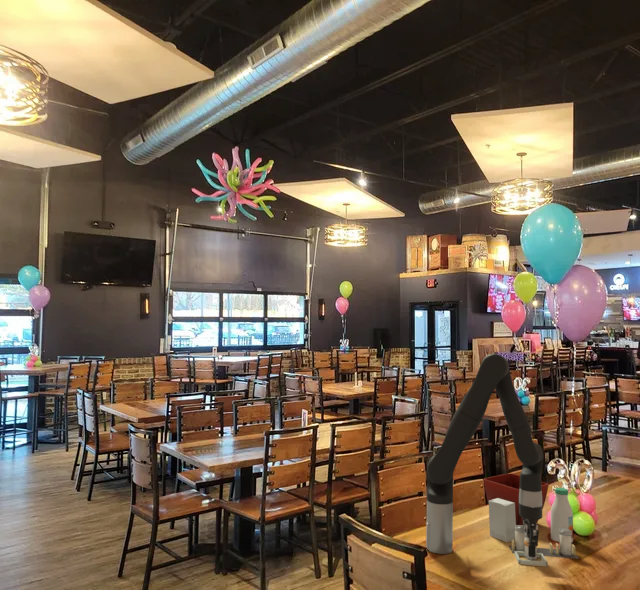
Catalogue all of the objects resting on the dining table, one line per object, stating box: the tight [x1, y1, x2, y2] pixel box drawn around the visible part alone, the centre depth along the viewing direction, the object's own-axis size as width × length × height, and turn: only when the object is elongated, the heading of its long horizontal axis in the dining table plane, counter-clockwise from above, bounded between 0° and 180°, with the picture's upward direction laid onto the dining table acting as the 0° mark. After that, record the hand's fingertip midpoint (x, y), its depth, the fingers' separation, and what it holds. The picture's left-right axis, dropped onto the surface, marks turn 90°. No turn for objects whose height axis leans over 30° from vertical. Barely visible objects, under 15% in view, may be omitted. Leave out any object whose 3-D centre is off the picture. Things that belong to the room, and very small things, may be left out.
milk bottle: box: [550, 487, 574, 543], centre depth 209 cm, size 8×8×20 cm
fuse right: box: [559, 528, 572, 556], centre depth 195 cm, size 4×4×8 cm
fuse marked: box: [523, 532, 538, 561], centre depth 189 cm, size 4×4×8 cm
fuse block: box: [508, 540, 580, 560], centre depth 196 cm, size 22×7×4 cm, turn 81°
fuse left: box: [514, 525, 525, 552], centre depth 198 cm, size 4×4×8 cm
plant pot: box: [483, 472, 549, 526], centre depth 231 cm, size 19×19×17 cm
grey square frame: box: [513, 551, 549, 567], centre depth 189 cm, size 9×8×3 cm
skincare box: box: [488, 498, 516, 543], centre depth 210 cm, size 8×6×15 cm
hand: (530, 553), depth 189 cm, fingers closed on fuse marked, 4 cm apart
